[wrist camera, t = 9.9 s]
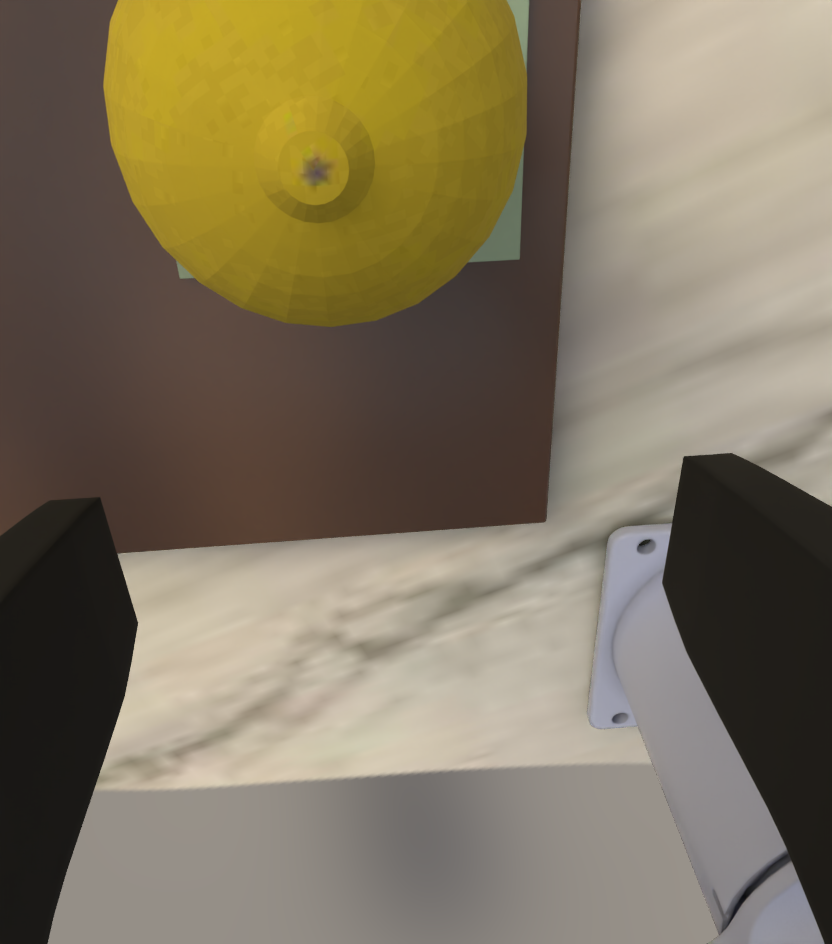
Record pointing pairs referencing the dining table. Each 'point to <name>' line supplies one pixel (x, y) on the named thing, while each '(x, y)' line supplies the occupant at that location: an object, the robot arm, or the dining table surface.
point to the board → (259, 338)
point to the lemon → (318, 144)
